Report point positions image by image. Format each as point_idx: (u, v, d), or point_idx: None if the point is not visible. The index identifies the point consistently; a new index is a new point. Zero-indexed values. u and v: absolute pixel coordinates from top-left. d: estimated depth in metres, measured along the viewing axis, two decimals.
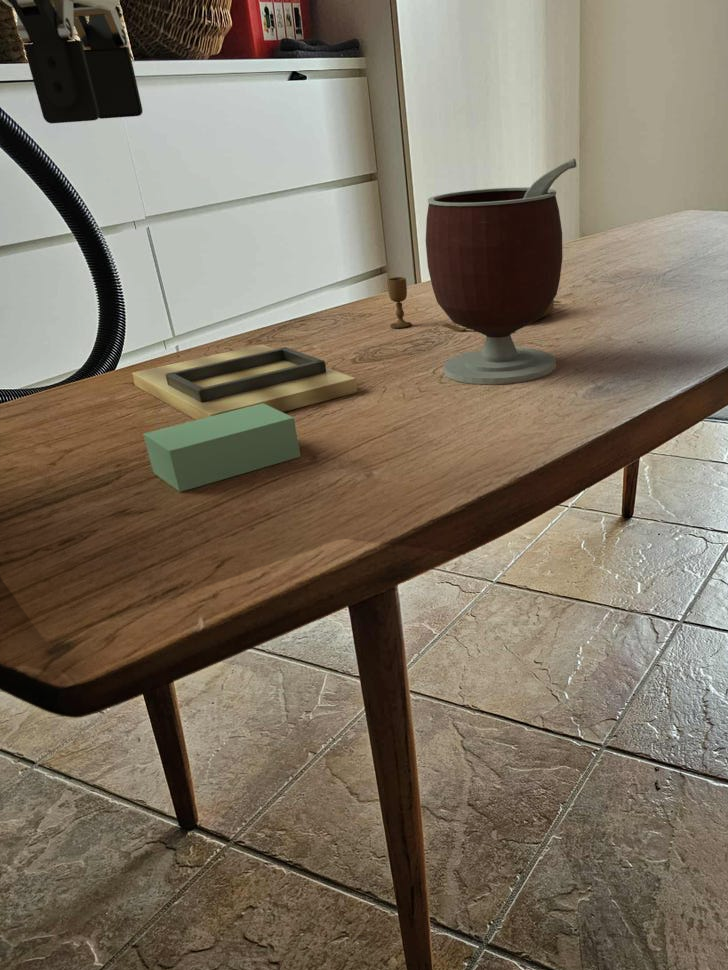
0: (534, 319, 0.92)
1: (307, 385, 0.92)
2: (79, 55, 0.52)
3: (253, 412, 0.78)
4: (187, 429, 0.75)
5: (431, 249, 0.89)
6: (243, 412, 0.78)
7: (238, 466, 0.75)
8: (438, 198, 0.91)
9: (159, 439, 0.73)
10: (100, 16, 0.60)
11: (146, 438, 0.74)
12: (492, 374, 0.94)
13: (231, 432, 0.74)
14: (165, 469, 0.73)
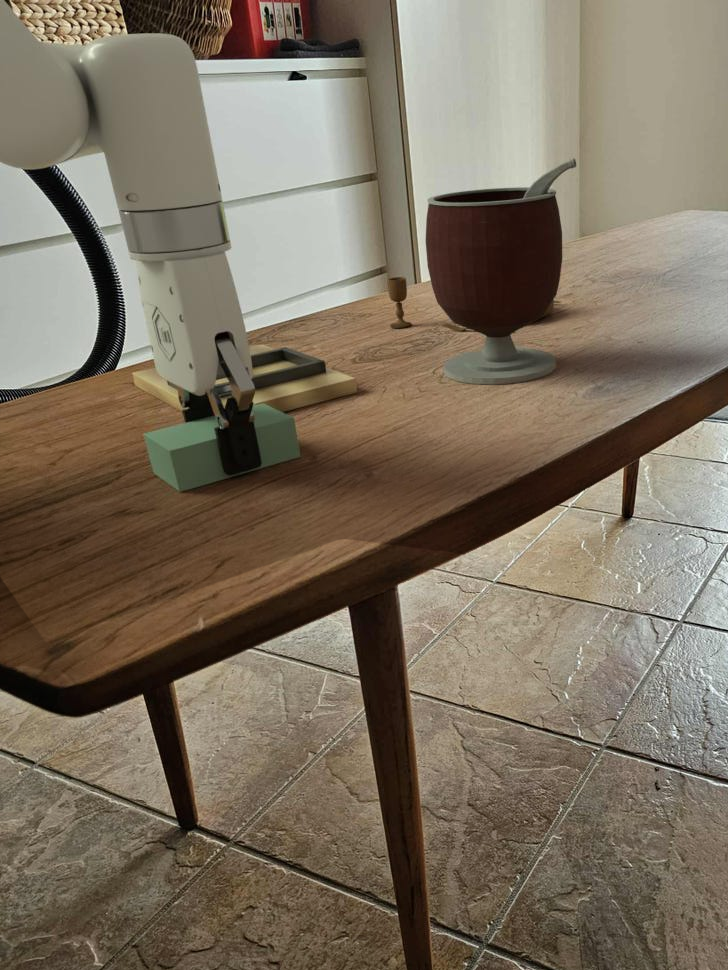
0: (534, 319, 0.92)
1: (307, 385, 0.92)
2: (253, 428, 0.73)
3: (253, 412, 0.78)
4: (187, 429, 0.75)
5: (431, 249, 0.89)
6: None
7: None
8: (438, 198, 0.91)
9: (159, 439, 0.73)
10: None
11: (146, 438, 0.74)
12: (492, 374, 0.94)
13: None
14: (165, 469, 0.73)
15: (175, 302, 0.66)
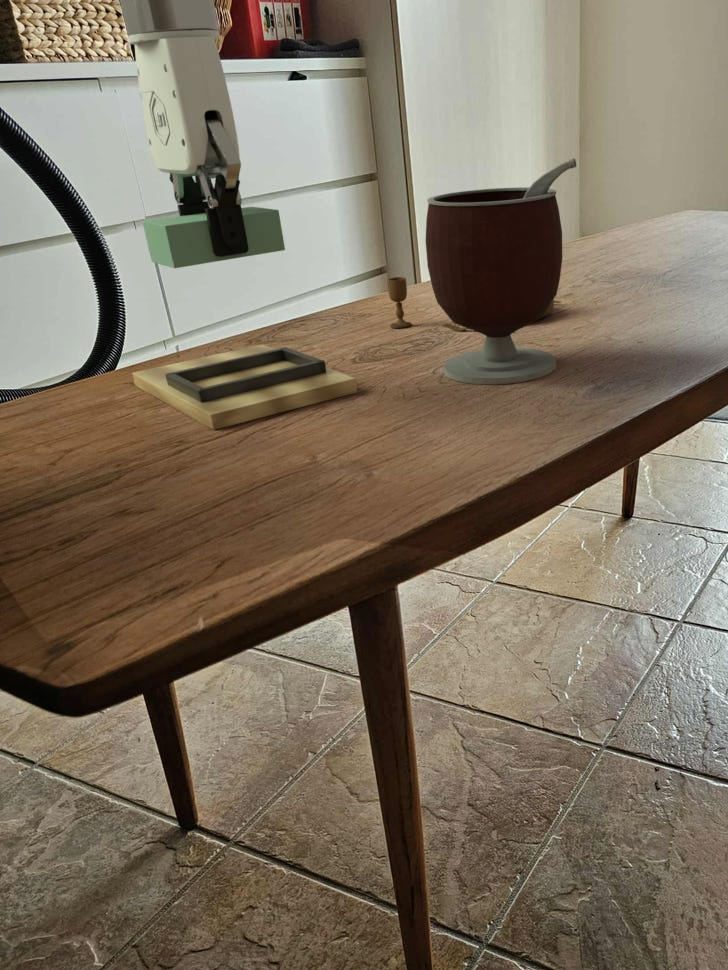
0: (534, 319, 0.92)
1: (307, 385, 0.92)
2: (240, 213, 0.81)
3: (242, 210, 0.86)
4: (181, 218, 0.83)
5: (431, 249, 0.89)
6: None
7: None
8: (438, 198, 0.91)
9: (157, 222, 0.81)
10: (184, 176, 0.85)
11: (145, 225, 0.82)
12: (492, 374, 0.94)
13: None
14: (161, 250, 0.81)
15: (169, 79, 0.74)
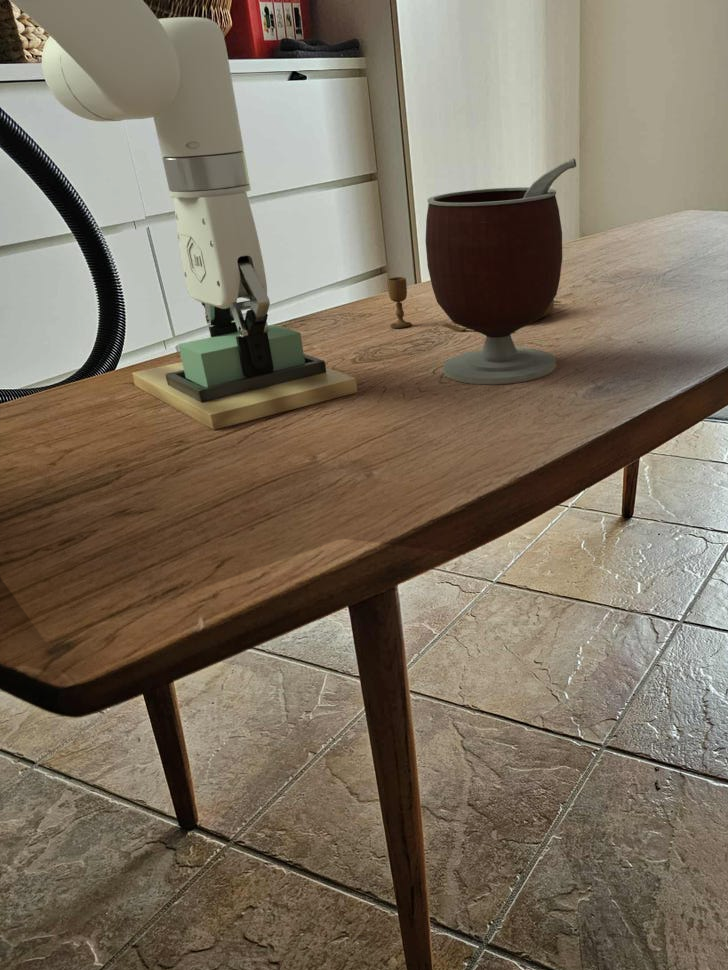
0: (534, 319, 0.92)
1: (307, 385, 0.92)
2: (267, 339, 0.91)
3: None
4: (213, 341, 0.92)
5: (431, 249, 0.89)
6: None
7: None
8: (438, 198, 0.91)
9: (192, 347, 0.91)
10: None
11: (180, 347, 0.92)
12: (492, 374, 0.94)
13: None
14: (196, 371, 0.91)
15: (207, 230, 0.83)
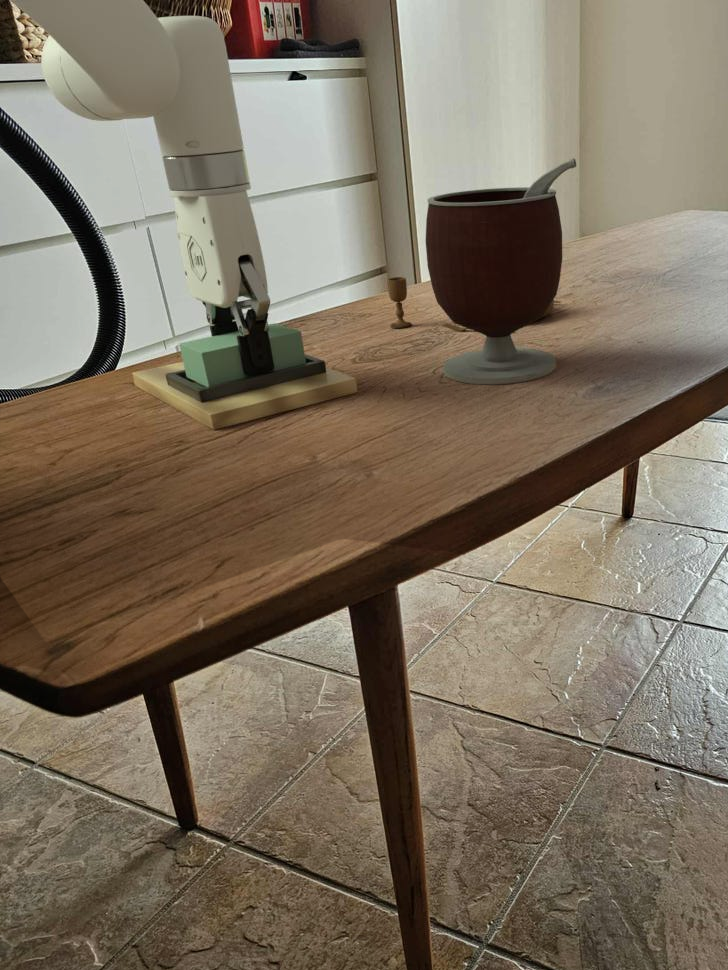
0: (534, 319, 0.92)
1: (307, 385, 0.92)
2: (267, 338, 0.91)
3: None
4: (214, 340, 0.92)
5: (431, 249, 0.89)
6: None
7: None
8: (438, 198, 0.91)
9: (192, 346, 0.91)
10: None
11: (181, 347, 0.92)
12: (492, 374, 0.94)
13: None
14: (197, 371, 0.91)
15: (207, 230, 0.83)
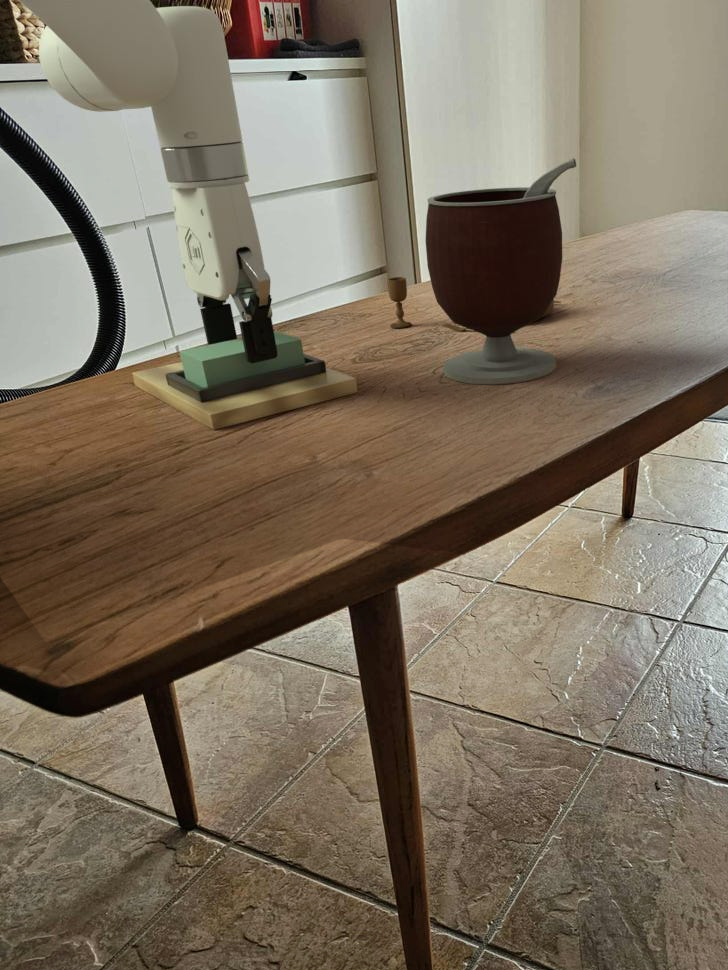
0: (534, 319, 0.92)
1: (307, 385, 0.92)
2: (270, 324, 0.89)
3: None
4: (214, 348, 0.93)
5: (431, 249, 0.89)
6: None
7: None
8: (438, 198, 0.91)
9: (193, 354, 0.91)
10: None
11: (182, 354, 0.92)
12: (492, 374, 0.94)
13: None
14: (197, 379, 0.91)
15: (205, 222, 0.83)
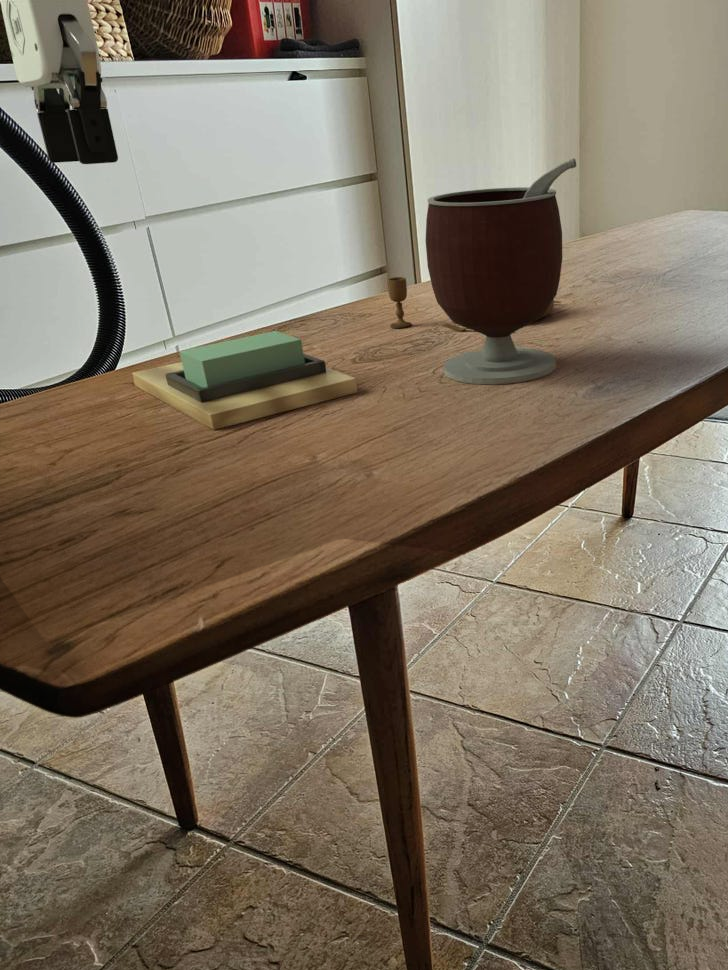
0: (534, 319, 0.92)
1: (307, 385, 0.92)
2: (107, 118, 0.76)
3: (268, 336, 0.96)
4: (214, 348, 0.93)
5: (431, 249, 0.89)
6: (259, 336, 0.96)
7: None
8: (438, 198, 0.91)
9: (193, 354, 0.91)
10: (46, 88, 0.82)
11: (182, 354, 0.92)
12: (492, 374, 0.94)
13: (250, 349, 0.91)
14: (197, 379, 0.91)
15: None
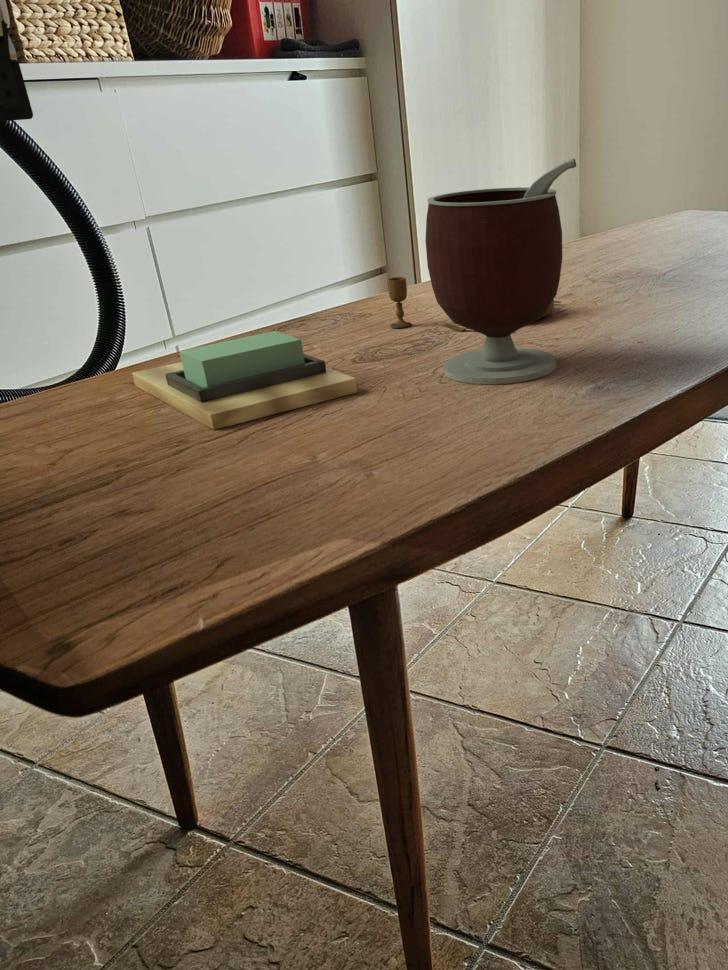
0: (534, 319, 0.92)
1: (307, 385, 0.92)
2: (19, 71, 0.72)
3: (268, 336, 0.96)
4: (214, 348, 0.93)
5: (431, 249, 0.89)
6: (259, 336, 0.96)
7: None
8: (438, 198, 0.91)
9: (193, 354, 0.91)
10: None
11: (182, 354, 0.92)
12: (492, 374, 0.94)
13: (250, 349, 0.91)
14: (197, 379, 0.91)
15: None
